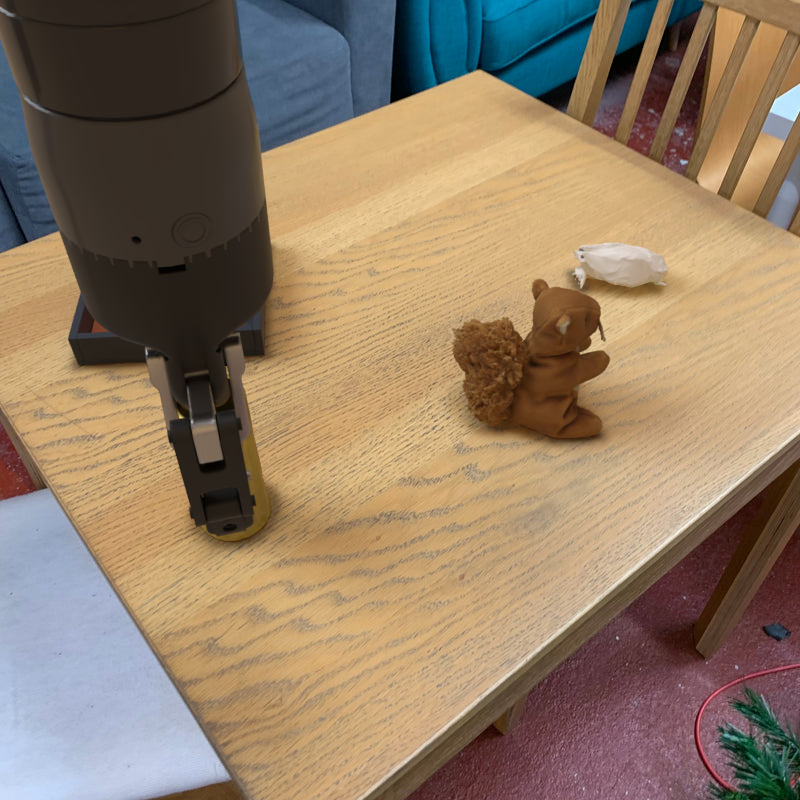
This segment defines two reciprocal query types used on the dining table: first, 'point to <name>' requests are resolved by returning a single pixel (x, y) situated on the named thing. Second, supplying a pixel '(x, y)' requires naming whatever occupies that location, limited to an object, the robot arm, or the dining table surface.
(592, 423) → the stuffed squirrel
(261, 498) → the vase
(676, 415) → the dining table surface
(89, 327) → the grid
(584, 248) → the bird figurine
